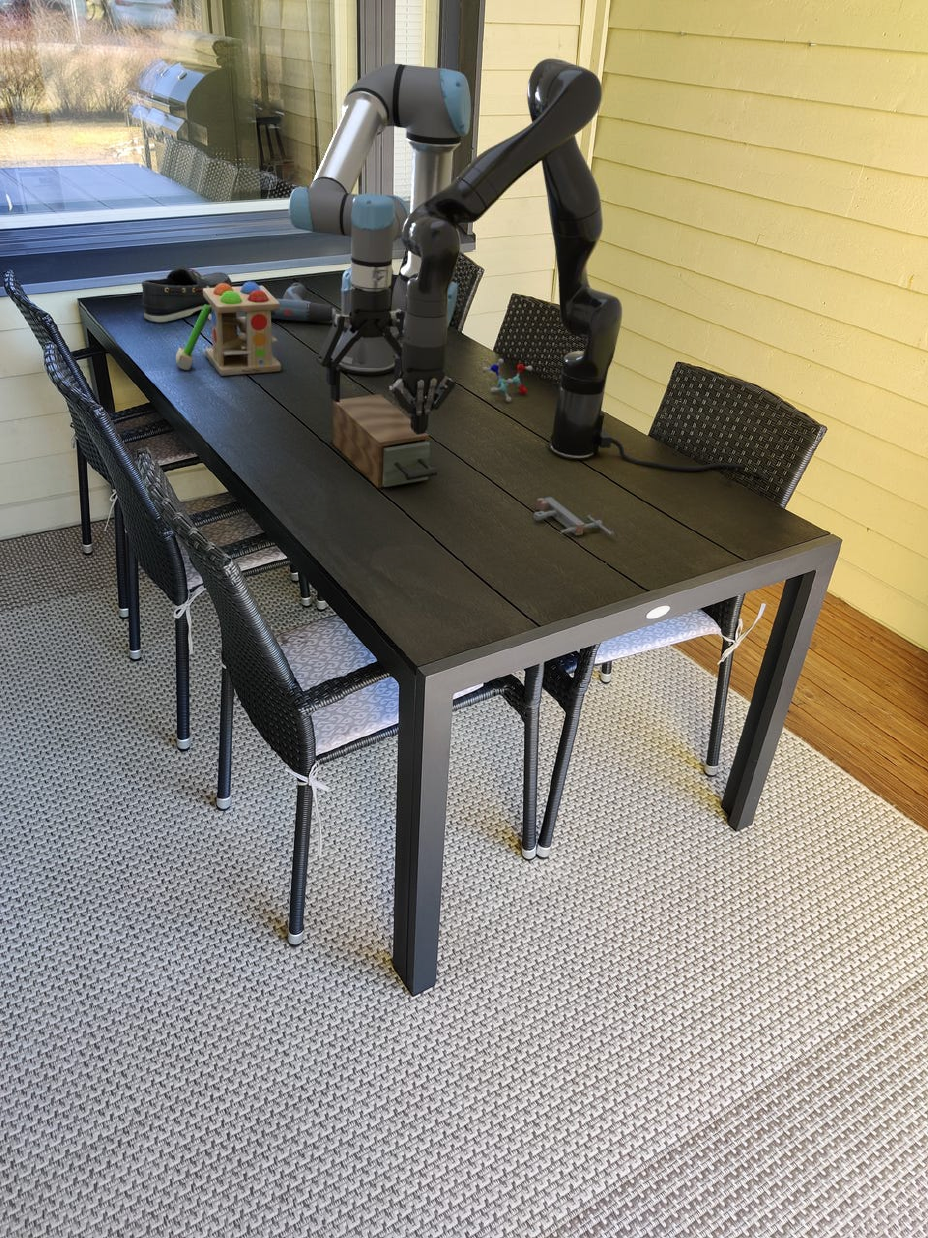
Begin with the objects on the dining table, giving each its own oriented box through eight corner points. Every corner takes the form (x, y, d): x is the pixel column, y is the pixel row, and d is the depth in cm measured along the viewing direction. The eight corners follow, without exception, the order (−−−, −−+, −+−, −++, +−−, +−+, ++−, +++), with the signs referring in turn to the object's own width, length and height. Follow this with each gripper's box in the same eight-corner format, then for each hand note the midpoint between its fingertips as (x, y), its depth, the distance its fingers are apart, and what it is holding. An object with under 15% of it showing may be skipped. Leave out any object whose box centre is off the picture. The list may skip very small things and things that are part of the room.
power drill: (344, 304, 276) (335, 327, 259) (277, 298, 275) (264, 321, 258) (344, 285, 273) (335, 306, 256) (277, 279, 272) (264, 300, 255)
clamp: (523, 501, 180) (568, 492, 185) (522, 511, 182) (566, 502, 186) (570, 539, 170) (616, 528, 174) (568, 550, 171) (614, 539, 176)
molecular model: (528, 394, 221) (514, 351, 219) (490, 408, 224) (476, 365, 223) (540, 392, 231) (527, 351, 230) (504, 406, 235) (491, 365, 234)
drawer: (443, 493, 184) (446, 456, 179) (399, 501, 179) (401, 464, 175) (382, 438, 202) (383, 403, 197) (341, 444, 197) (341, 409, 193)
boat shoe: (251, 301, 273) (249, 262, 267) (161, 324, 249) (157, 282, 243) (217, 292, 278) (215, 254, 273) (126, 314, 254) (121, 273, 249)
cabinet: (426, 479, 190) (429, 434, 185) (377, 487, 185) (379, 442, 180) (378, 436, 204) (380, 393, 199) (332, 443, 200) (332, 400, 195)
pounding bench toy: (183, 379, 220) (176, 299, 210) (169, 357, 231) (162, 280, 221) (282, 371, 230) (280, 294, 220) (264, 350, 240) (262, 276, 230)
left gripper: (315, 295, 172) (315, 410, 184) (439, 287, 184) (432, 395, 195) (299, 284, 177) (300, 396, 189) (421, 276, 189) (414, 382, 201)
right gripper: (399, 348, 162) (395, 445, 171) (469, 341, 168) (460, 435, 177) (379, 334, 167) (376, 429, 176) (447, 327, 173) (440, 419, 182)
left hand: (367, 396), depth 192 cm, fingers open, 13 cm apart
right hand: (418, 432), depth 177 cm, fingers closed
